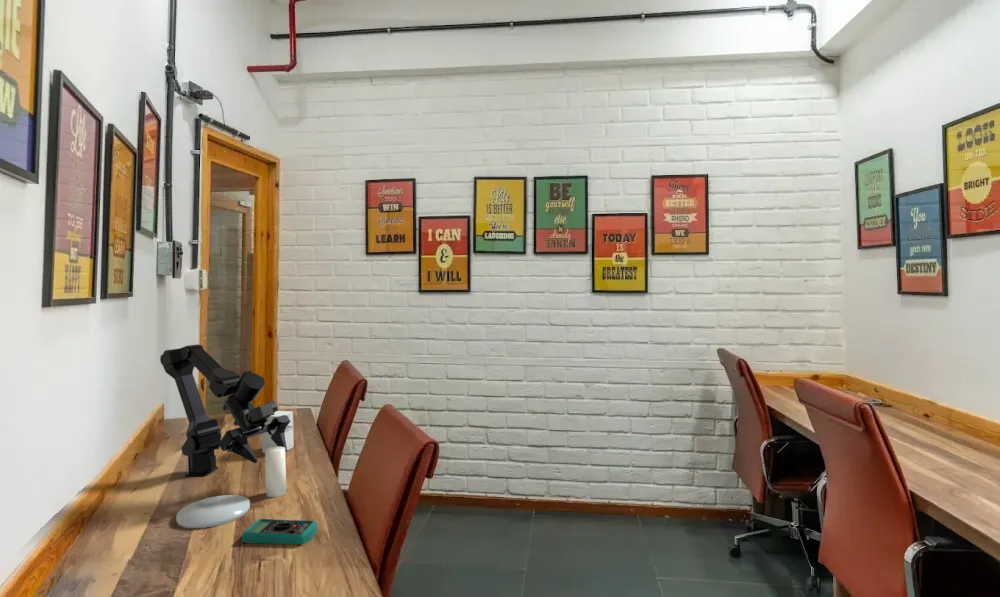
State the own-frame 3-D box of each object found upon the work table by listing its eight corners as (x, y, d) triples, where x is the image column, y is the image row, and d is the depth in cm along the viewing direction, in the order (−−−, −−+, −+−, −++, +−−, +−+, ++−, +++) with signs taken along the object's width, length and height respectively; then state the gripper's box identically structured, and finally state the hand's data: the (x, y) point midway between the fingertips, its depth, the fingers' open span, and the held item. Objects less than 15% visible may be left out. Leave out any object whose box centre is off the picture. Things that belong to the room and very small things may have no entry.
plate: (160, 528, 123) (160, 523, 123) (202, 499, 139) (202, 494, 139) (227, 528, 122) (227, 523, 122) (261, 499, 138) (261, 495, 138)
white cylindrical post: (262, 497, 140) (261, 452, 139) (271, 489, 145) (270, 446, 144) (281, 497, 140) (279, 452, 139) (289, 489, 144) (288, 446, 144)
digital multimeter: (305, 547, 114) (305, 534, 114) (240, 545, 116) (240, 531, 116) (320, 531, 122) (319, 519, 121) (258, 529, 123) (258, 516, 123)
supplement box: (281, 454, 173) (280, 416, 173) (261, 453, 175) (260, 415, 174) (294, 447, 181) (293, 410, 180) (275, 446, 182) (274, 410, 182)
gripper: (224, 400, 136) (253, 449, 131) (285, 387, 152) (313, 429, 148) (207, 427, 140) (234, 475, 135) (268, 411, 157) (294, 453, 152)
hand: (271, 456), depth 142 cm, fingers open, 9 cm apart
